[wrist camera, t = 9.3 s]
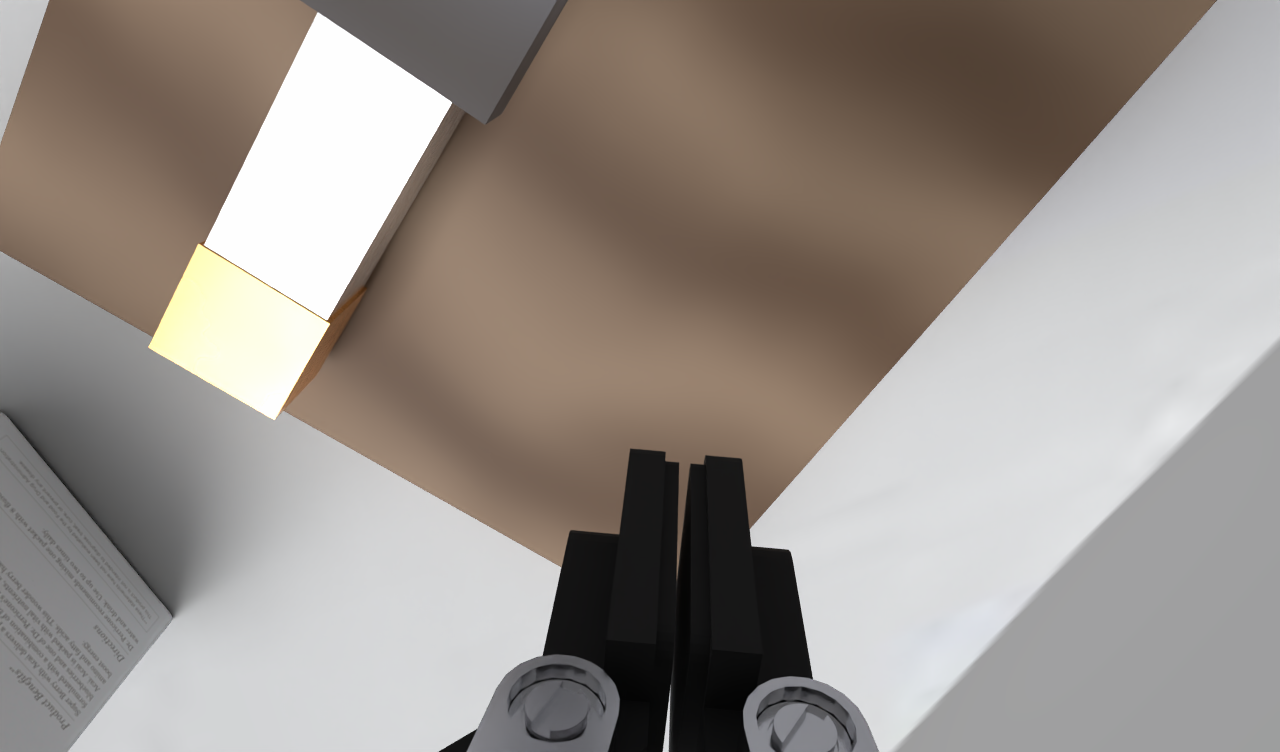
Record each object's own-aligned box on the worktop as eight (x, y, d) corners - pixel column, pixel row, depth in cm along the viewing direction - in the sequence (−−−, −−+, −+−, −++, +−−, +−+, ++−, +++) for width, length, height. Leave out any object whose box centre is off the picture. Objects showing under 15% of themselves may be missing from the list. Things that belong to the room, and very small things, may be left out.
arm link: (597, -527, 15) (534, -959, 8) (785, -356, 16) (869, -619, 9) (194, 290, 22) (-25, 423, 15) (343, 379, 23) (201, 542, 16)
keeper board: (361, -755, 16) (83, -1424, 8) (1195, -18, 20) (1497, -29, 13) (11, 219, 23) (-291, 320, 16) (664, 594, 28) (661, 806, 20)
